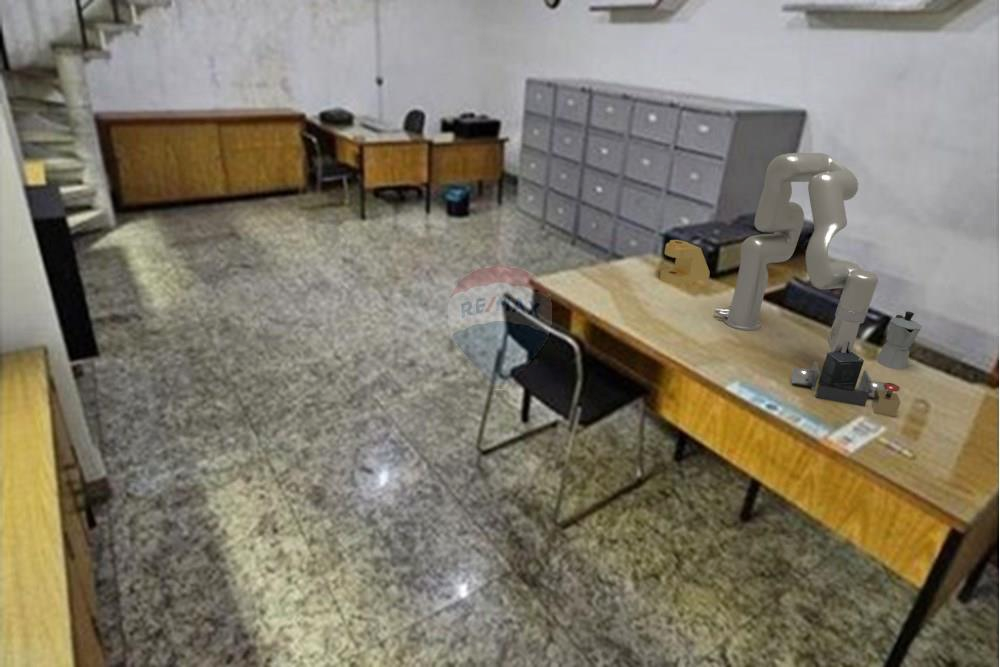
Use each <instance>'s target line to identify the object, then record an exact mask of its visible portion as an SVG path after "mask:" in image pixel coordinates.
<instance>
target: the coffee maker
mask: <svg viewBox="0 0 1000 667" xmlns="http://www.w3.org/2000/svg"><path fill="white" fill-rule="evenodd" d="M914 315H915V313H914V312H911V311H905V313H904V316H903V315H901V314H897V315H895V317H892V318H891V319H890V320H889V325H888V330H887V334H886V339H885V340H886V342H885V343H884V344H883V346H882V348H881V350H880V351H879V353H878V354H877V356H876V358H875V359H876V361H877V364H880V365H881V366H883V367H886V368H888V369H894V370H899V371H902V370H904V369H907V368H908V362H909V356H910V348H911V347H912V346H913V343H914V342H915V340H916V338H917V336H918V334H919V333H920V330H921V329H922V327H923V325H921V324H919V323H918V322H917V321H915V320H912V318H913V317H914Z"/></svg>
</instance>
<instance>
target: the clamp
mask: <svg viewBox="0 0 1000 667" xmlns="http://www.w3.org/2000/svg"><path fill="white" fill-rule="evenodd" d="M664 255H665V256H667V257H671V258H675V261H674V267H670V268H669V267H668V268H663V269H661V271H660V276H659V280H660V281H662V282H664V283H668V284H672V285H679V284H685V283H692V282H698V281H704V280H709V278H710V273H711V272H710V269H709V266H708V264H707V262H706V261H707V260H706V259H705V256H704V253H703V250H702V247H699V246H697V245H694V244H693V243H690V242H688V241H685V240H680V239H671V240H669V242H667V243H666V244H665V248H664Z"/></svg>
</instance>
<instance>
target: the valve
mask: <svg viewBox="0 0 1000 667" xmlns="http://www.w3.org/2000/svg"><path fill="white" fill-rule="evenodd" d="M884 383H885V384H884V387H885V388H886V389H887V391H882V390H878V389H877V390H876V393H875V395H874V398H872V400H871V404H870V405H871V408H872V411H873V414H877V415H882V416H886V417H891V418H892V417H893V418H896V416H897V412H898V410H899V407H900V404H901V403H902V402H901V399H900V397H899V395H898V393H897V392H900V389H901V387H900V386H899V385H897V384H896V383H892V382H884Z"/></svg>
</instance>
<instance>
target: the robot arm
mask: <svg viewBox="0 0 1000 667" xmlns="http://www.w3.org/2000/svg"><path fill="white" fill-rule="evenodd" d="M801 182H802V183H808V185H807V189H808V190H807V192H808V197H809V203H810V209H811V215H812V216H811V217H812V220H813V221H812V222H813V229H814V230H813V233H812V235H811V237H810V238H809V240H808V244H807V246H806V250H805V264H806V265H805V266H806V270H807V271H806V272H807V275H808V278H809V281H810V283H811V284H812V286H813V287H814V288H816V289H819V290H832V289H833V290H834V289H842V292H841V296H840V299H839V302H838V305H837V307H836V310H835V314H834V316H835V318H834V320H833V323H832V325H831V328H830V331H829V334H828V336H827V343H828V347H829V349H830V352H842V353H846V352H849V354H850V353H851V352H853V349H854V346H855V343H856V339H857V336H858V334H859V333H858V332H859V328H860V325H861V324H863V323H865V320H866V317H867V314H868V311H869V308H870V306H871V304H872V299H873V297H874V295H875V291H876V289H877V286H878V281H879V278H878V276H877V274H875V273H873V272H871V271H867V270H864V269H863V268H862V267H860V266H858V265H857V264H856V263H854V262H852V261H845V260H844V261H843V260H842V261H835V262H834V261H832V262H830V260H829V246H830V243H831V241H832V239H833V238H834V237H835V235H836V234H838V233H839V232H840V231H842V230H844V229H845V228H846V227H847V225H848V218H847V212H846V206H845V201H848V200H851V199H852V198H854V197H855V196H856V195H857V192H858V190H859V183H858V179H857V176H856V175H855V174H854V173H853V172H852V171H851V170H849V169H848V168H847V167H846V166H844V165H843V164H841V163H840V162H838V161H837V160H836V159H835V158H834V157H832V156H830V155H828V154H826V153H821V152H792V153H791V152H790V153H783V154H779V155H778V156H776V157H773V159H772V160H771V161H770V162H769V164H768V166H767V169H766V172H765V178H764V186H763V190H762V192H761V196H760V198H759V202H758V206H757V208H756V209H757V210H756V213H755V216H754V227H755V228H756V230H757V231H759V232H762V233H763V234H754V235H751V236H748V237H747V238H746V239H745V240H744V241H743V242H742V244H741V248H740V260H739V261H740V263H739V269H738V274H737V278H736V283H735V288H734V291H733V294H732V295H733V296H732V300H731V304H730V305H729V306H728V308H721V307H718V306H717V307H715V311H714V314H715V313H716V314H718V316H722V321H723V323H725V324H726V325H727V326H729V327H731V328H734V329H737V330H741V331H749V332H750V331H751V332H752V331H758V330H759V329H761V327H762V322H761V321H760V320H759V315H760V312H761V308H762V304H763V302H764V301H763V300H764V297H765V292H766V288H767V285H768V281H769V272H768V269H767V265H768V264H772V263H774V264H775V263H783V262H787V261H788V260H790V258H791V257H792V256H793V254H794V252H795V250H796V247H797V244H798V243H799V242H798V241H799V238H800V235H801V233H802V229H803V227H804V221H805V212H804V210H803V208H802V206H801V205H800V204H799V203H796V202H793V201H791V200H790V199H791V198H792V193H793V186H792V184H791V183H801ZM765 233H766V234H765ZM770 233H771V234H770Z"/></svg>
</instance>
